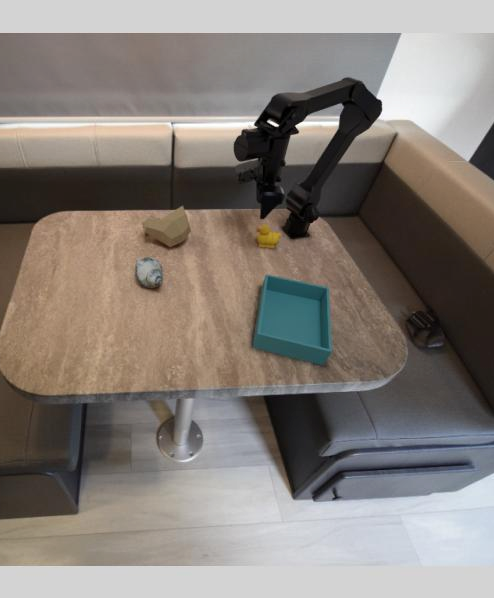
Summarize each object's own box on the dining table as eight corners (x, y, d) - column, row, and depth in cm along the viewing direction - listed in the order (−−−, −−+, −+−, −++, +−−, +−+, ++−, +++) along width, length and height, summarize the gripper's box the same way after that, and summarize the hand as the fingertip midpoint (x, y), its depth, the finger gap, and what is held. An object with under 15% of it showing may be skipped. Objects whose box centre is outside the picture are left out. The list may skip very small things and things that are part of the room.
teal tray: (261, 288, 92) (265, 274, 88) (321, 301, 89) (329, 287, 85) (252, 347, 78) (257, 333, 75) (323, 365, 75) (332, 351, 72)
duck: (277, 241, 107) (282, 223, 102) (278, 249, 104) (284, 231, 99) (252, 239, 107) (257, 221, 102) (253, 247, 104) (258, 229, 100)
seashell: (158, 270, 98) (155, 300, 90) (134, 260, 96) (128, 290, 88) (169, 254, 94) (166, 284, 85) (143, 243, 92) (138, 273, 83)
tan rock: (197, 237, 108) (176, 207, 109) (204, 222, 97) (180, 190, 99) (157, 262, 105) (136, 232, 107) (159, 250, 95) (136, 216, 96)
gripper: (237, 137, 93) (229, 191, 104) (243, 169, 80) (232, 227, 91) (280, 139, 92) (267, 193, 103) (292, 172, 79) (276, 229, 90)
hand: (260, 209), depth 97 cm, fingers open, 9 cm apart
